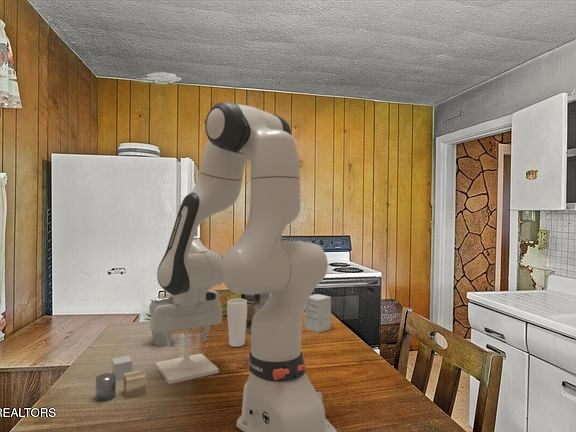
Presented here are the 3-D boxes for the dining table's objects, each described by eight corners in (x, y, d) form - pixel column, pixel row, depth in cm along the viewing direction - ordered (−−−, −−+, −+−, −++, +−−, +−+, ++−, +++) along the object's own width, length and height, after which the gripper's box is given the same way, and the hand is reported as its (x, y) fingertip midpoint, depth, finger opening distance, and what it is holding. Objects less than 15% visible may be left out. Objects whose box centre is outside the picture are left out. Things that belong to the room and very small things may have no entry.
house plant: (194, 337, 141) (194, 292, 140) (176, 351, 127) (176, 301, 127) (157, 335, 143) (157, 290, 143) (135, 348, 129) (135, 299, 129)
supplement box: (317, 325, 157) (317, 293, 157) (331, 329, 152) (331, 296, 152) (304, 328, 152) (304, 296, 152) (318, 333, 147) (318, 299, 147)
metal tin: (117, 398, 96) (117, 378, 96) (97, 403, 93) (97, 382, 93) (114, 391, 100) (114, 371, 99) (94, 395, 97) (94, 375, 97)
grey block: (132, 377, 108) (132, 360, 108) (114, 381, 106) (114, 364, 106) (129, 371, 112) (129, 355, 112) (111, 374, 109) (111, 358, 109)
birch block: (146, 394, 98) (146, 376, 98) (126, 398, 96) (126, 380, 96) (142, 387, 102) (142, 369, 102) (123, 391, 100) (123, 373, 100)
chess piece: (182, 361, 116) (182, 327, 116) (198, 363, 115) (198, 329, 115) (174, 368, 112) (174, 333, 111) (190, 369, 111) (191, 334, 110)
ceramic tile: (218, 372, 111) (218, 369, 111) (168, 384, 104) (168, 380, 104) (201, 356, 123) (201, 353, 123) (155, 365, 116) (155, 362, 115)
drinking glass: (243, 349, 130) (243, 303, 130) (224, 347, 131) (224, 302, 131) (249, 342, 136) (249, 299, 136) (230, 340, 138) (231, 298, 138)
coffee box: (240, 331, 149) (240, 288, 148) (251, 326, 154) (251, 285, 154) (258, 335, 143) (259, 291, 143) (269, 331, 149) (269, 288, 148)
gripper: (152, 301, 104) (152, 353, 105) (224, 293, 115) (224, 340, 116) (146, 297, 110) (146, 347, 110) (215, 289, 121) (216, 334, 121)
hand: (187, 343), depth 113 cm, fingers open, 8 cm apart
